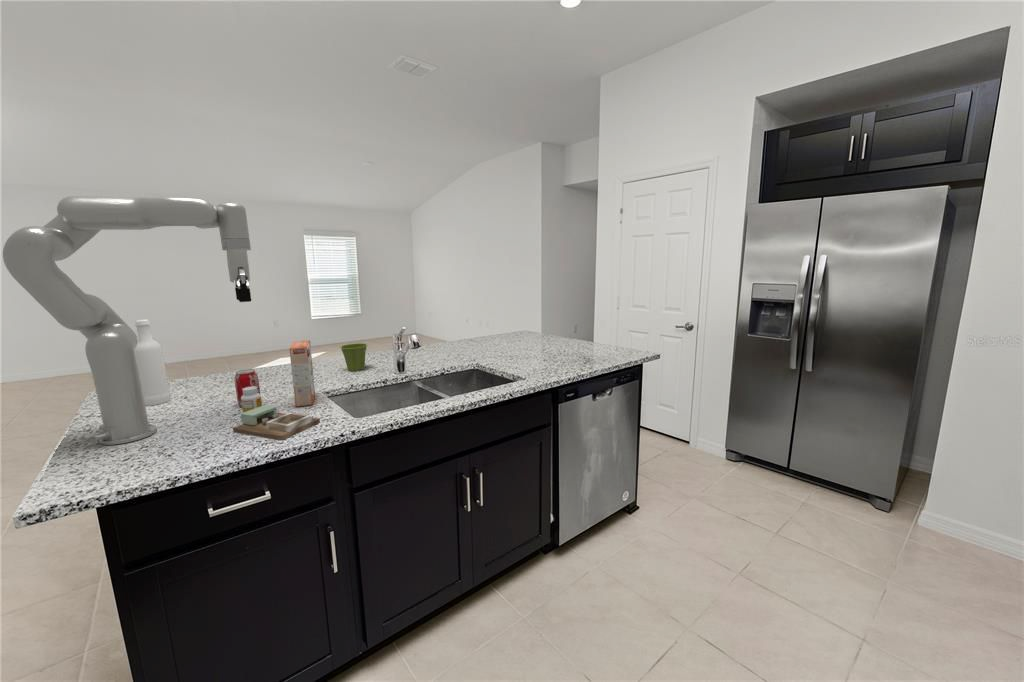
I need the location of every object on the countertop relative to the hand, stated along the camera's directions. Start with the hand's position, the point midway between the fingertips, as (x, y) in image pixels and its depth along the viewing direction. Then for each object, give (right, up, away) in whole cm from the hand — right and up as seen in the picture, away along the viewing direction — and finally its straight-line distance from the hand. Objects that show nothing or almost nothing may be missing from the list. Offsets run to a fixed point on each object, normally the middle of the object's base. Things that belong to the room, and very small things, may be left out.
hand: (243, 300), depth 135 cm
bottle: (-43, -35, +19) cm, 59 cm away
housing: (+8, -37, -4) cm, 38 cm away
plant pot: (+13, -26, +61) cm, 68 cm away
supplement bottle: (+2, -38, +2) cm, 38 cm away
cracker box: (+11, -34, +18) cm, 40 cm away
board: (+14, -39, -6) cm, 42 cm away
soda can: (-7, -35, +15) cm, 39 cm away
